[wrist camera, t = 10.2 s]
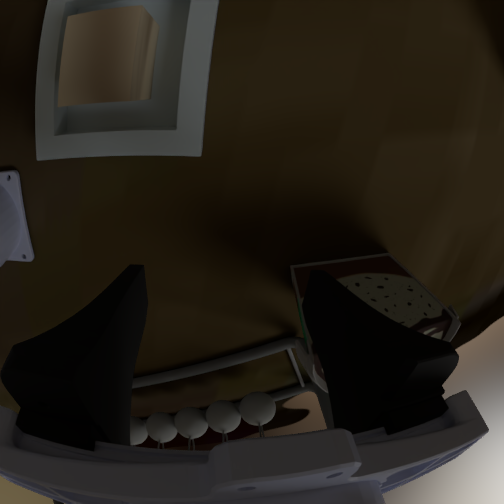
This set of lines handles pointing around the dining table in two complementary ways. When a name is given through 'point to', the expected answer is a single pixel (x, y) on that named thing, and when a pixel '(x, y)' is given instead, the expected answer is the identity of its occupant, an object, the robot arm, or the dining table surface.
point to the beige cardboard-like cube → (108, 56)
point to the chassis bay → (130, 112)
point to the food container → (376, 300)
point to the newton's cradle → (222, 401)
